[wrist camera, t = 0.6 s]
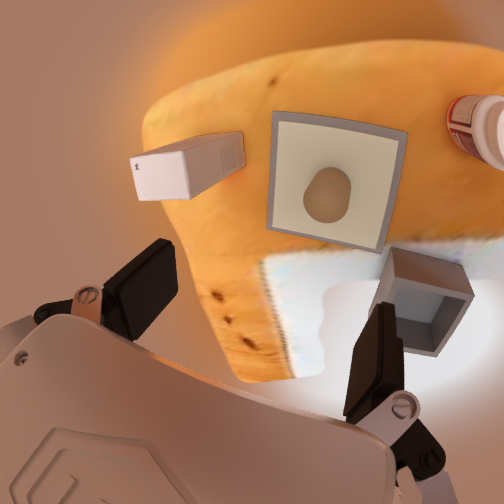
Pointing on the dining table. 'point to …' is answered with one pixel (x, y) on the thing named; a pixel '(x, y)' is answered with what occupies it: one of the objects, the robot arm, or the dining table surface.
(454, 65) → the dining table surface
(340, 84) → the dining table surface
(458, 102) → the pill bottle
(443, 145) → the dining table surface
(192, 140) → the skincare box
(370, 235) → the lid
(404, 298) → the open grey box
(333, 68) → the dining table surface
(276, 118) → the mat
